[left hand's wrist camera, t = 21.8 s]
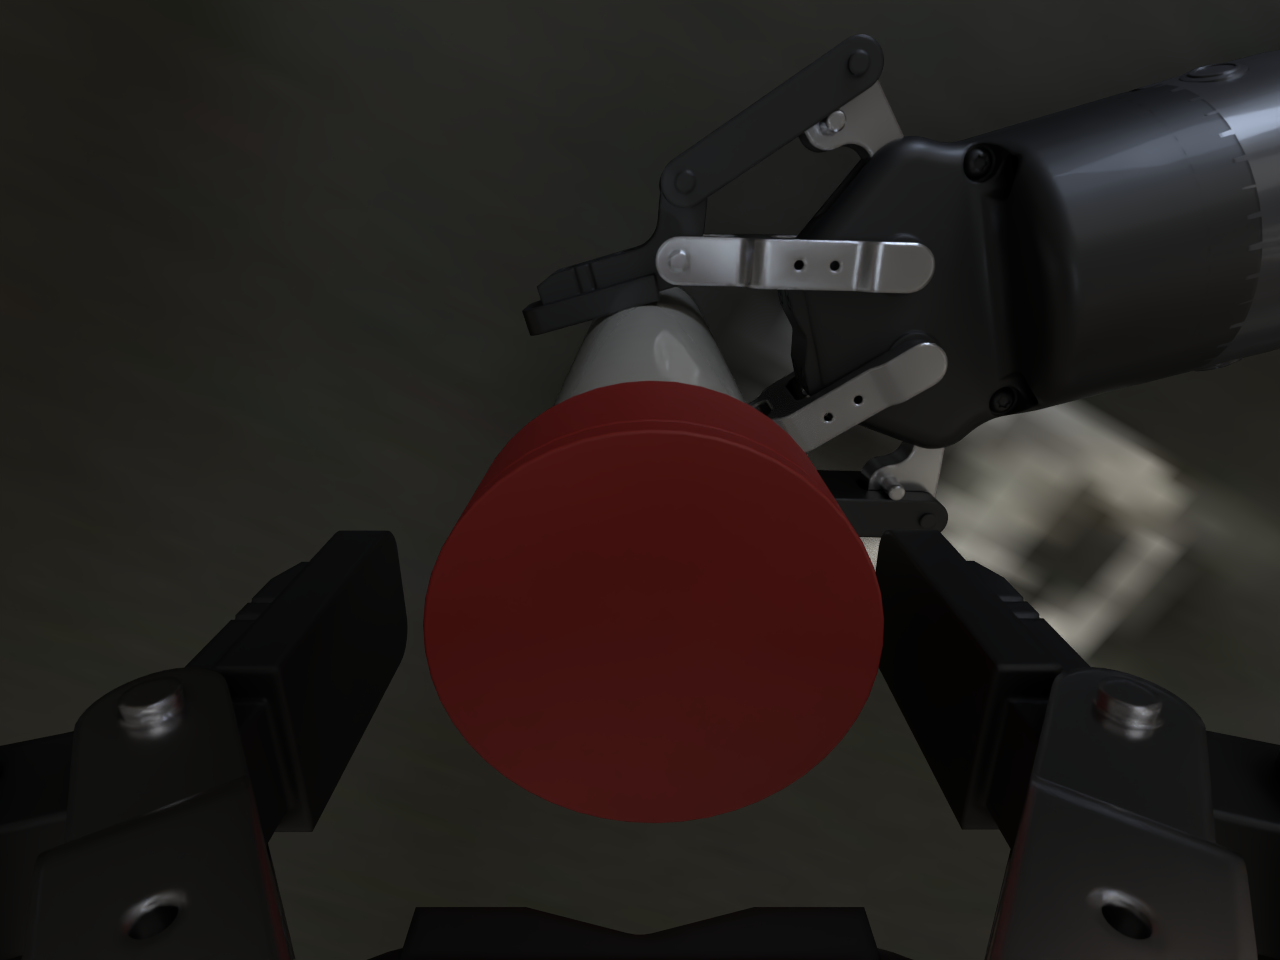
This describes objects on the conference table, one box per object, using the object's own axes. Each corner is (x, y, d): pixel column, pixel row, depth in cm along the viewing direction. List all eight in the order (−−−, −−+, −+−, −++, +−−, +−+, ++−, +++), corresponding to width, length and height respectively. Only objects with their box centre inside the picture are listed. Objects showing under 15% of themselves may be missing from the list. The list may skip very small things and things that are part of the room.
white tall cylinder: (663, 254, 25) (702, 373, 8) (727, 352, 27) (893, 652, 9) (568, 324, 26) (402, 577, 8) (635, 415, 28) (613, 803, 10)
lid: (654, 763, 11) (656, 887, 9) (394, 563, 10) (329, 654, 8) (911, 556, 10) (980, 647, 8) (647, 293, 9) (648, 321, 7)
